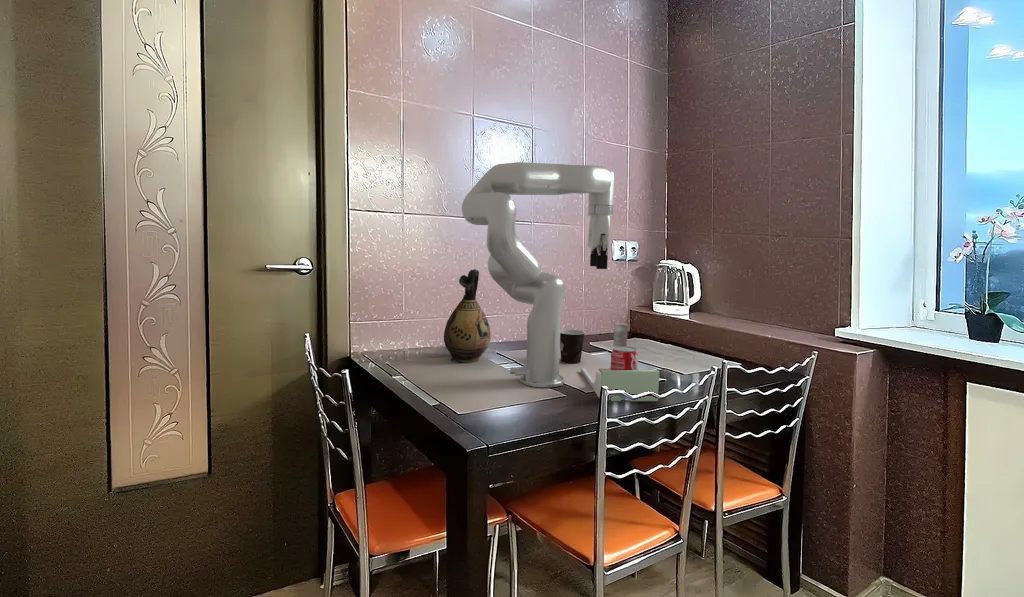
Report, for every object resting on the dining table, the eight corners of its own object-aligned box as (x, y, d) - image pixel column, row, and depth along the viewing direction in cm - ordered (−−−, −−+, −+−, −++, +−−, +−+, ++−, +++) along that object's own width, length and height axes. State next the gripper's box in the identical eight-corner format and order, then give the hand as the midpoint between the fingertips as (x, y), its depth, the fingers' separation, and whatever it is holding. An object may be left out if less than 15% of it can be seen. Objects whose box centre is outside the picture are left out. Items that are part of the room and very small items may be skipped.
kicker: (601, 390, 156) (604, 326, 154) (597, 384, 162) (600, 322, 159) (641, 390, 157) (644, 326, 155) (635, 385, 163) (638, 323, 160)
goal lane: (601, 401, 148) (602, 371, 147) (581, 371, 177) (582, 346, 176) (657, 401, 149) (659, 371, 148) (628, 371, 178) (630, 346, 176)
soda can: (634, 400, 149) (636, 352, 147) (607, 397, 151) (609, 349, 149) (638, 393, 155) (640, 346, 154) (611, 390, 158) (613, 344, 156)
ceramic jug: (482, 367, 180) (484, 272, 176) (436, 363, 183) (437, 270, 179) (496, 355, 196) (498, 268, 192) (454, 351, 200) (454, 266, 196)
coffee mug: (558, 357, 194) (559, 329, 193) (583, 359, 193) (585, 330, 192) (556, 366, 183) (557, 335, 181) (583, 367, 182) (584, 337, 180)
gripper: (583, 211, 181) (581, 265, 183) (594, 210, 164) (591, 269, 166) (606, 212, 181) (604, 265, 184) (619, 211, 164) (617, 270, 167)
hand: (598, 267), depth 175 cm, fingers open, 9 cm apart
